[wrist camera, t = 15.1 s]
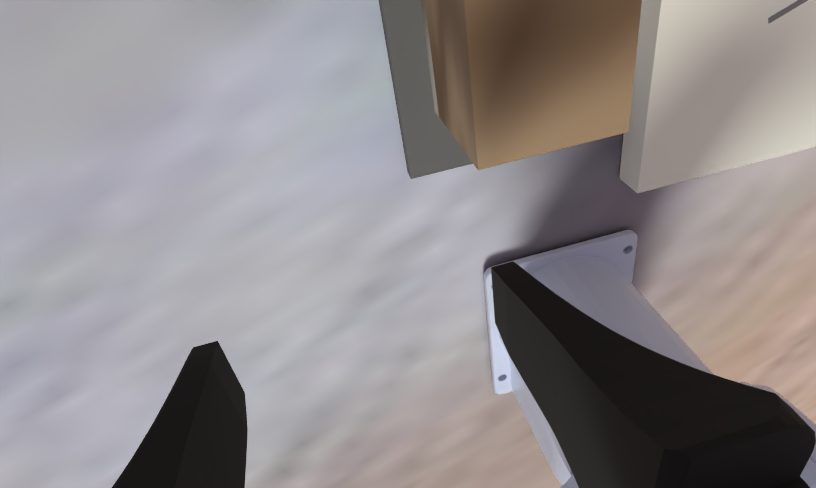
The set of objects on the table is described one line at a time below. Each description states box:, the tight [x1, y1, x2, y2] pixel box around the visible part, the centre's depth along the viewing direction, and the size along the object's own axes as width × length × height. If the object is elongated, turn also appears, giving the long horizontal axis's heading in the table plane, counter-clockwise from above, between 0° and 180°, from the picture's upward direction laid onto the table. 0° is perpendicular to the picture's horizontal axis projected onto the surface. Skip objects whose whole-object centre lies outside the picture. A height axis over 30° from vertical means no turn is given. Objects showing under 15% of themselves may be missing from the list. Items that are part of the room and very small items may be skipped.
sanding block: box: [421, 0, 642, 170], centre depth 17 cm, size 7×5×5 cm
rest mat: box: [379, 0, 473, 179], centre depth 19 cm, size 12×8×1 cm, turn 9°
